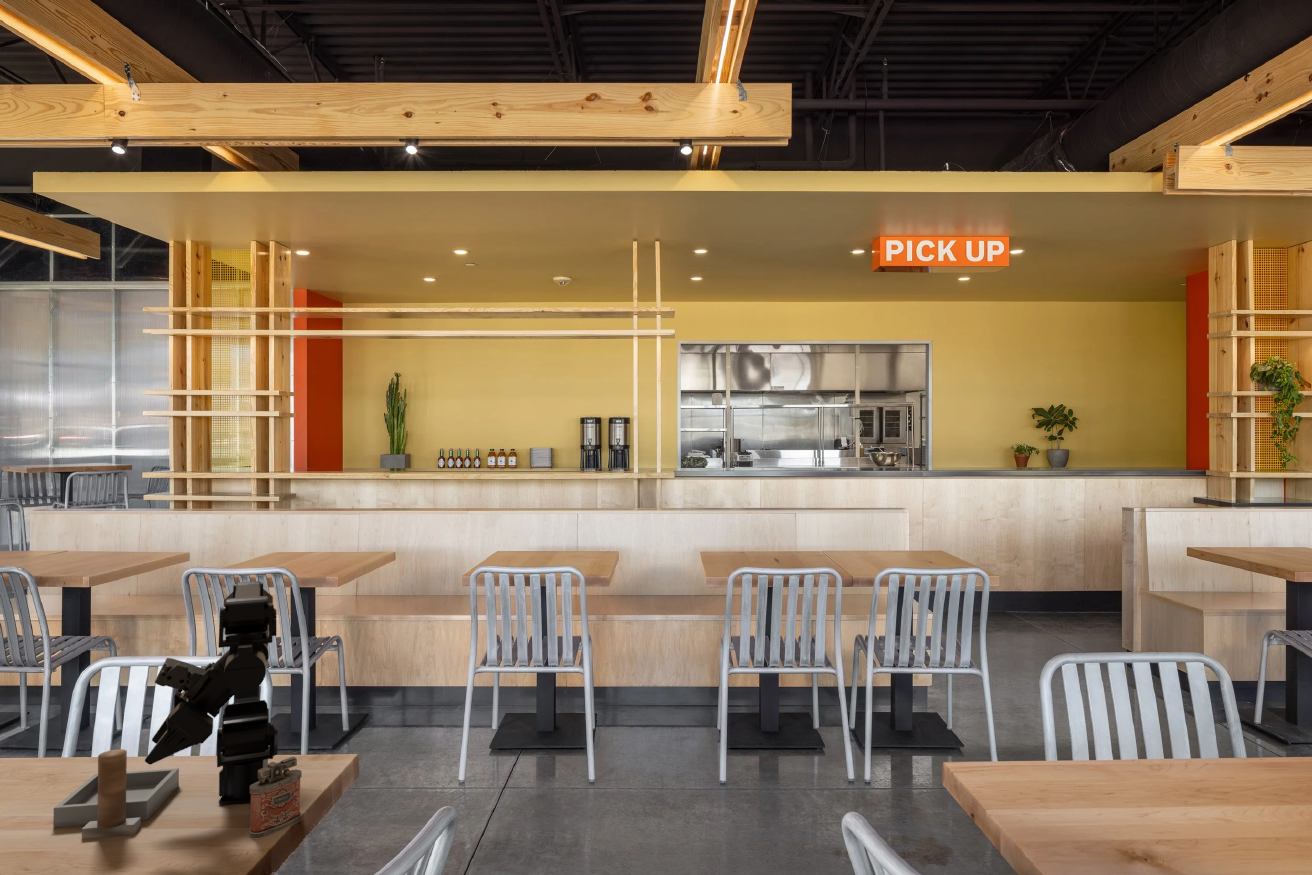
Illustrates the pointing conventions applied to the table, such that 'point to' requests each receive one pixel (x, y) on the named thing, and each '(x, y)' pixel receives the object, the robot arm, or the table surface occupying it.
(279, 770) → the lighter
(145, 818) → the tray
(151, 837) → the table surface
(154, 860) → the table surface
